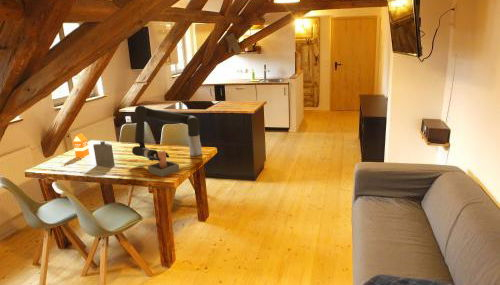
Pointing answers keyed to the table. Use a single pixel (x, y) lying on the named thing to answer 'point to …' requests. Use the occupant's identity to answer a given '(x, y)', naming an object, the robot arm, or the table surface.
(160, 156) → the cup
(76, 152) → the orange juice
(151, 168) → the tote
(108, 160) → the hip flask
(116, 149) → the table surface
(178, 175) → the table surface
